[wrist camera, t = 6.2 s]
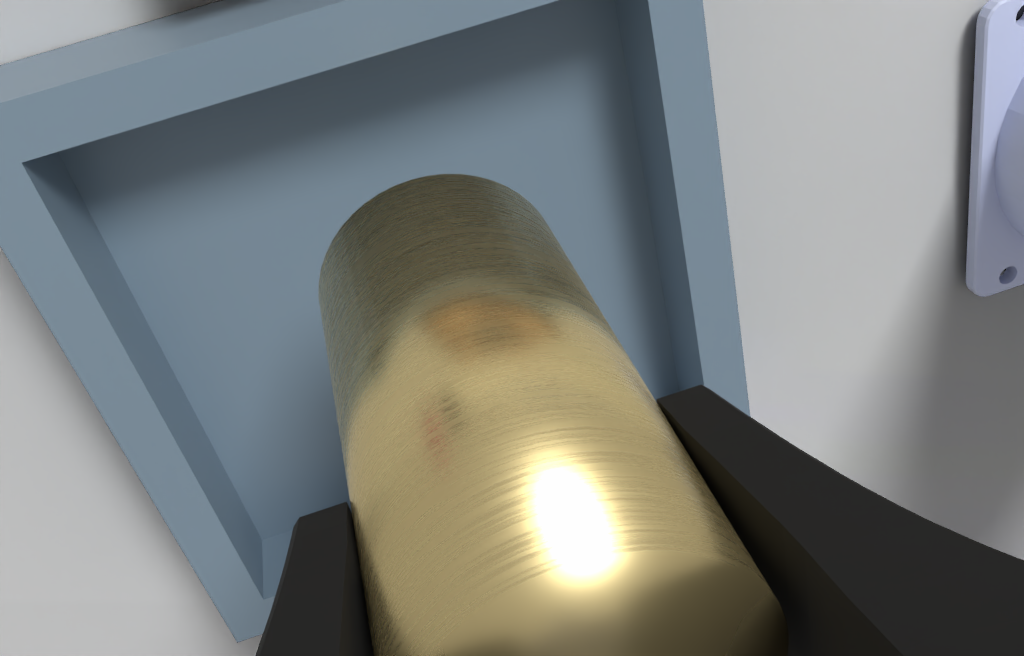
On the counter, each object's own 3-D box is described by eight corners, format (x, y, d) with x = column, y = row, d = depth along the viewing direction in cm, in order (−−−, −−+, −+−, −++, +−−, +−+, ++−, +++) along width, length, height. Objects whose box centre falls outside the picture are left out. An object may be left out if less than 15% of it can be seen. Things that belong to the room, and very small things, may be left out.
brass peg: (553, 153, 15) (808, 507, 8) (565, 360, 17) (772, 764, 11) (294, 199, 14) (353, 621, 8) (342, 407, 16) (418, 868, 10)
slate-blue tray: (630, -121, 19) (690, -103, 16) (705, 393, 26) (755, 461, 23) (-28, 73, 18) (-72, 125, 15) (238, 553, 25) (237, 642, 22)
